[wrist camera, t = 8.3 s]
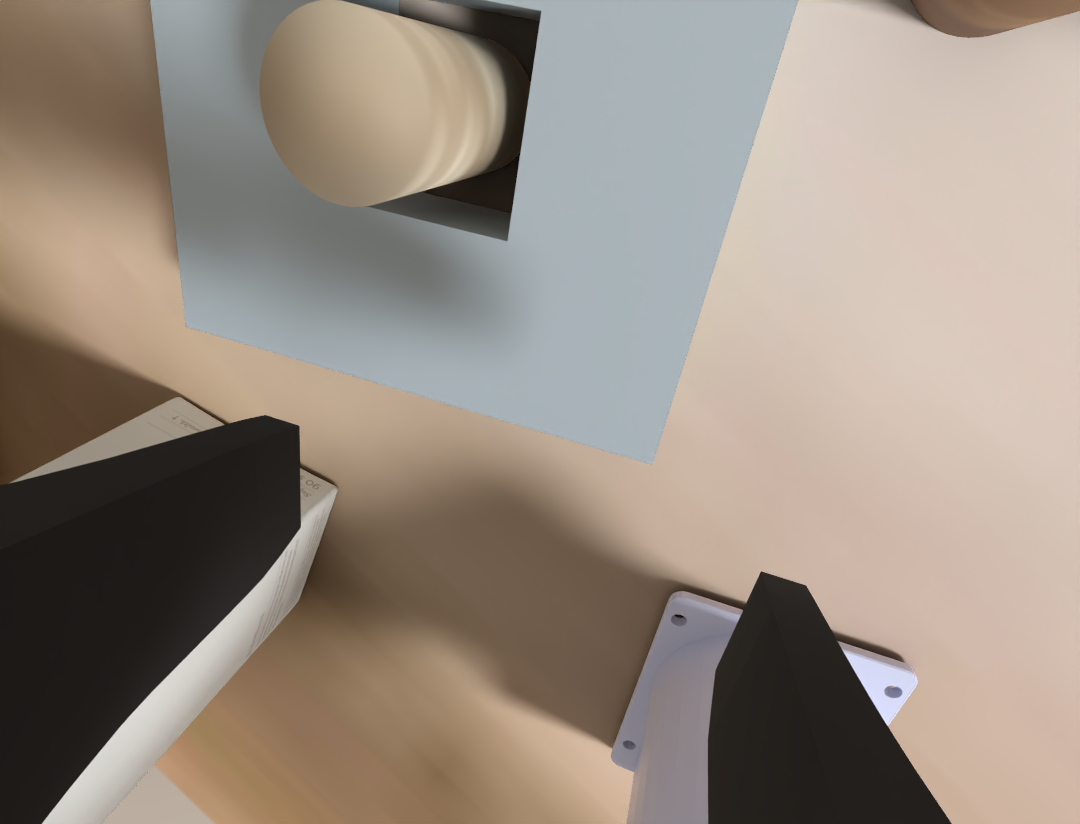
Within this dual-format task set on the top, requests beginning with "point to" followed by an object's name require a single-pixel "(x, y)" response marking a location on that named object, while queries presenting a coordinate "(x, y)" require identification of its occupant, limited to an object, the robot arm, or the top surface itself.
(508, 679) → the top surface
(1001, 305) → the top surface
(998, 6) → the short dowel
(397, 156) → the long dowel
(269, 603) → the supplement box
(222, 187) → the hole board
